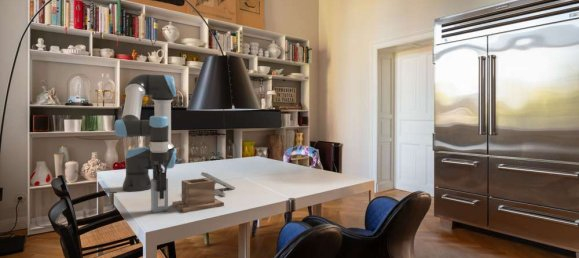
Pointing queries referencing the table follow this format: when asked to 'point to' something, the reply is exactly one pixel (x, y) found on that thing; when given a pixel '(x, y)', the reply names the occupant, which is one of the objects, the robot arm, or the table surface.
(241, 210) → the table surface
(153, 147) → the robot arm
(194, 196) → the brown wooden stand
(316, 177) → the table surface
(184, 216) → the table surface
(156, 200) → the steel bracket
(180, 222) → the table surface
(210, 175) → the door handle
